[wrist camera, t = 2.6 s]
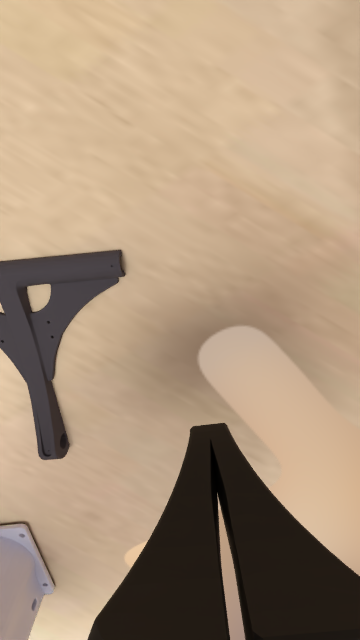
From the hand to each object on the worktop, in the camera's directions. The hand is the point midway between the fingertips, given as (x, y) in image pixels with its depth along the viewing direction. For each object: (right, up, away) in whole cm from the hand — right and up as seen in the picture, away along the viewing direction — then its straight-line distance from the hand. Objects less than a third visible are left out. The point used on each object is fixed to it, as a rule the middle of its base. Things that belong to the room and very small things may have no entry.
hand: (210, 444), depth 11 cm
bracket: (-11, +2, +10) cm, 15 cm away
